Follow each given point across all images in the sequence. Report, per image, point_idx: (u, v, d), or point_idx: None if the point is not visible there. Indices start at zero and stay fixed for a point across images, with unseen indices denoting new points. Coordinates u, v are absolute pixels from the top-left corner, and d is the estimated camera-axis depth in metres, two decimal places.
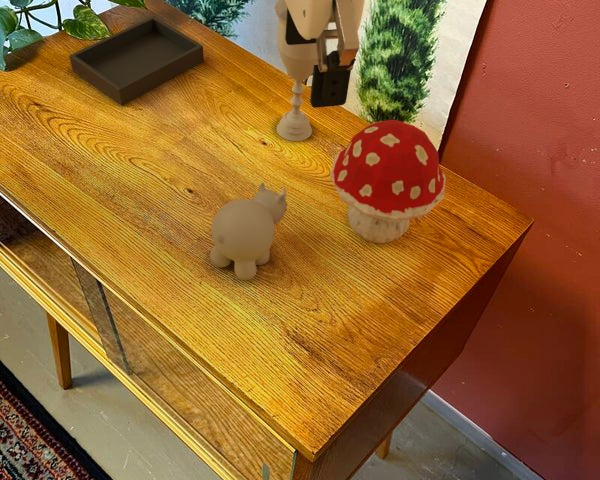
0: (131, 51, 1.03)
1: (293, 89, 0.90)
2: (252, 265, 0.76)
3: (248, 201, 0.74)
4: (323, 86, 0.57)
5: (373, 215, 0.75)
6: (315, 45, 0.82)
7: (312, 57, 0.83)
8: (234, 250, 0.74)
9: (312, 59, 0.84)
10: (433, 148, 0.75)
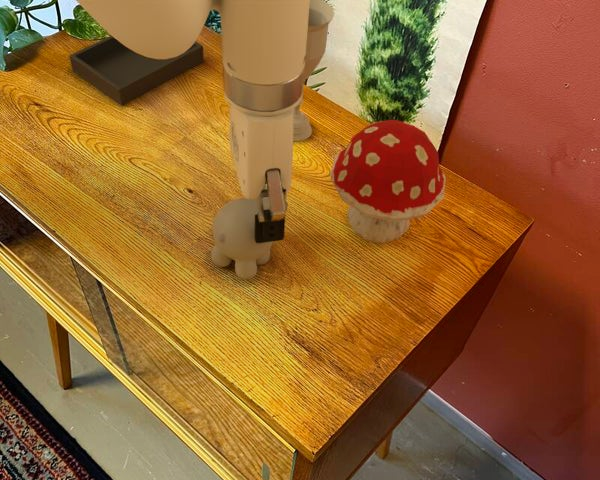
0: (131, 51, 1.03)
1: None
2: (253, 264, 0.76)
3: (249, 200, 0.75)
4: (263, 229, 0.71)
5: (373, 215, 0.75)
6: (315, 45, 0.82)
7: (312, 57, 0.83)
8: (235, 249, 0.74)
9: (312, 59, 0.84)
10: (433, 148, 0.75)
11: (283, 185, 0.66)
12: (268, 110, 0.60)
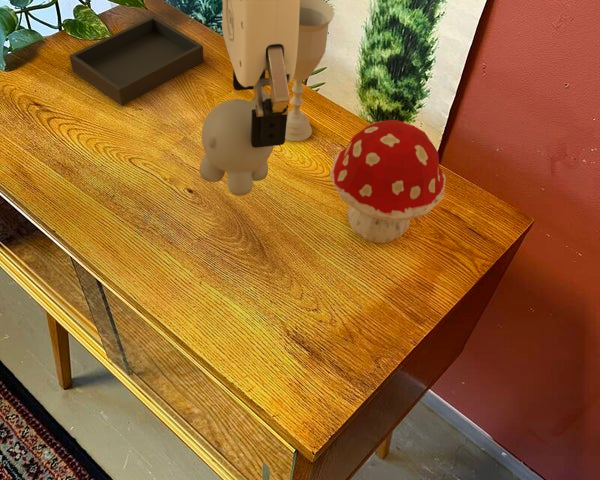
0: (131, 51, 1.03)
1: (293, 89, 0.90)
2: (249, 177, 0.66)
3: (244, 101, 0.64)
4: (261, 129, 0.61)
5: (373, 215, 0.75)
6: (315, 45, 0.82)
7: (312, 57, 0.83)
8: (228, 156, 0.63)
9: (312, 59, 0.84)
10: (433, 148, 0.75)
11: (286, 69, 0.56)
12: None
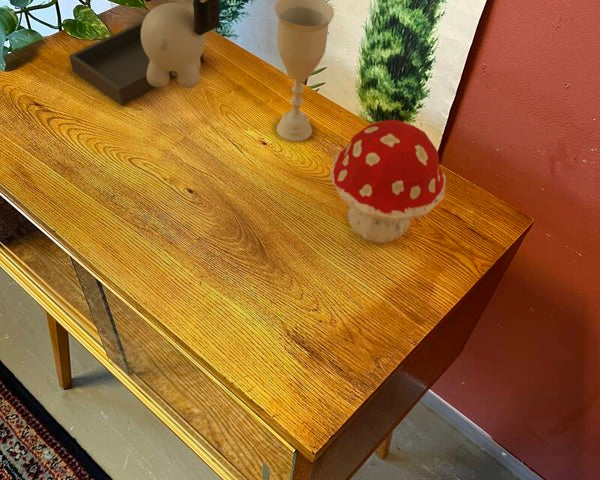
0: (131, 51, 1.03)
1: (293, 89, 0.90)
2: (196, 67, 0.77)
3: (169, 3, 0.74)
4: (204, 15, 0.72)
5: (373, 215, 0.75)
6: (315, 45, 0.82)
7: (312, 57, 0.83)
8: (181, 51, 0.73)
9: (312, 59, 0.84)
10: (433, 148, 0.75)
11: None
12: None
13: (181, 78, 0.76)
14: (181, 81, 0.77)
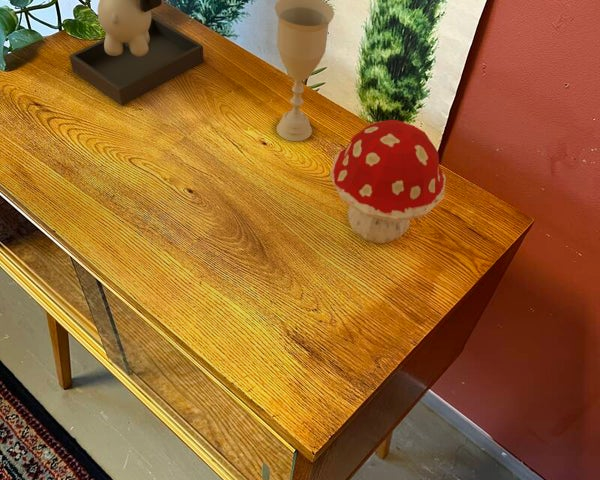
0: None
1: (293, 89, 0.90)
2: (145, 39, 0.93)
3: None
4: None
5: (373, 215, 0.75)
6: (315, 45, 0.82)
7: (312, 57, 0.83)
8: (130, 25, 0.90)
9: (312, 59, 0.84)
10: (433, 148, 0.75)
11: None
12: None
13: (132, 48, 0.93)
14: (132, 50, 0.94)
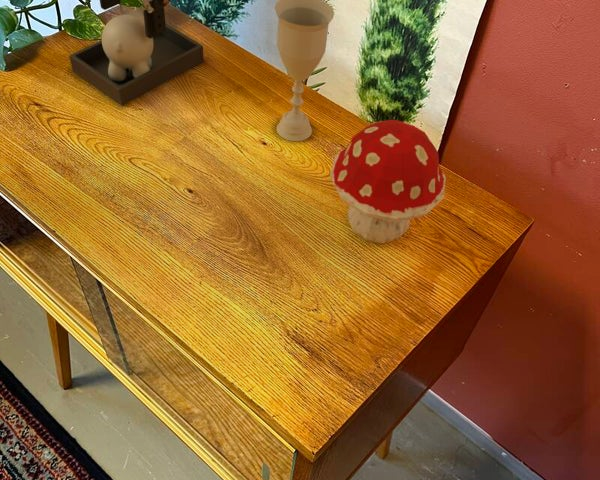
0: None
1: (293, 89, 0.90)
2: (147, 65, 0.97)
3: (123, 15, 0.94)
4: (152, 22, 0.91)
5: (373, 215, 0.75)
6: (315, 45, 0.82)
7: (312, 57, 0.83)
8: (133, 53, 0.93)
9: (312, 59, 0.84)
10: (433, 148, 0.75)
11: None
12: None
13: (135, 74, 0.97)
14: (135, 76, 0.97)
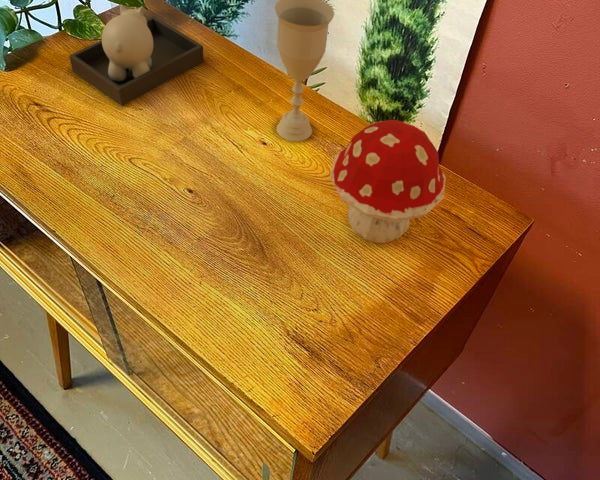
0: None
1: (293, 89, 0.90)
2: (147, 65, 0.97)
3: (123, 15, 0.94)
4: None
5: (373, 215, 0.75)
6: (315, 45, 0.82)
7: (312, 57, 0.83)
8: (133, 53, 0.93)
9: (312, 59, 0.84)
10: (433, 148, 0.75)
11: None
12: None
13: (135, 74, 0.97)
14: (135, 76, 0.97)
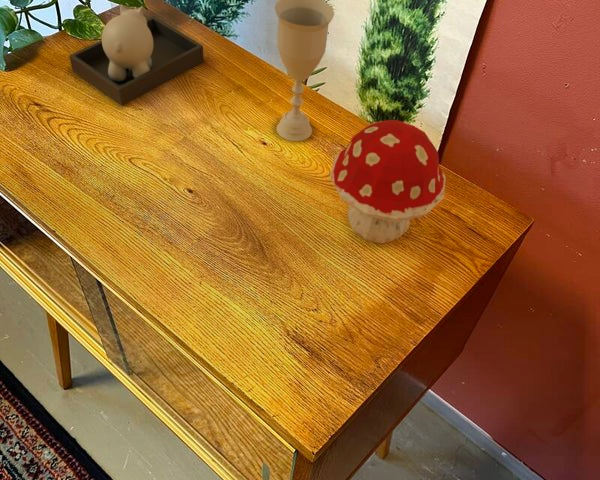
0: None
1: (293, 89, 0.90)
2: (147, 65, 0.97)
3: (123, 15, 0.94)
4: None
5: (373, 215, 0.75)
6: (315, 45, 0.82)
7: (312, 57, 0.83)
8: (133, 53, 0.93)
9: (312, 59, 0.84)
10: (433, 148, 0.75)
11: None
12: None
13: (135, 74, 0.97)
14: (135, 76, 0.97)
